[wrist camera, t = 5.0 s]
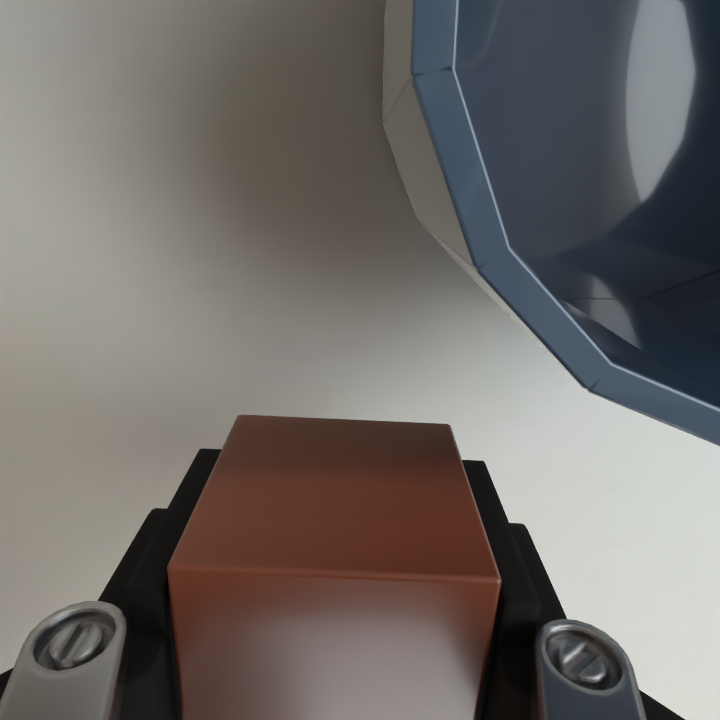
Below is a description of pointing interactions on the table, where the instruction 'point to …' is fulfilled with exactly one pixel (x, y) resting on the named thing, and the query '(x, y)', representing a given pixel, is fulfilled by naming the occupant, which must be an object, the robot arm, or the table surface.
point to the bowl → (575, 179)
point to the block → (333, 576)
